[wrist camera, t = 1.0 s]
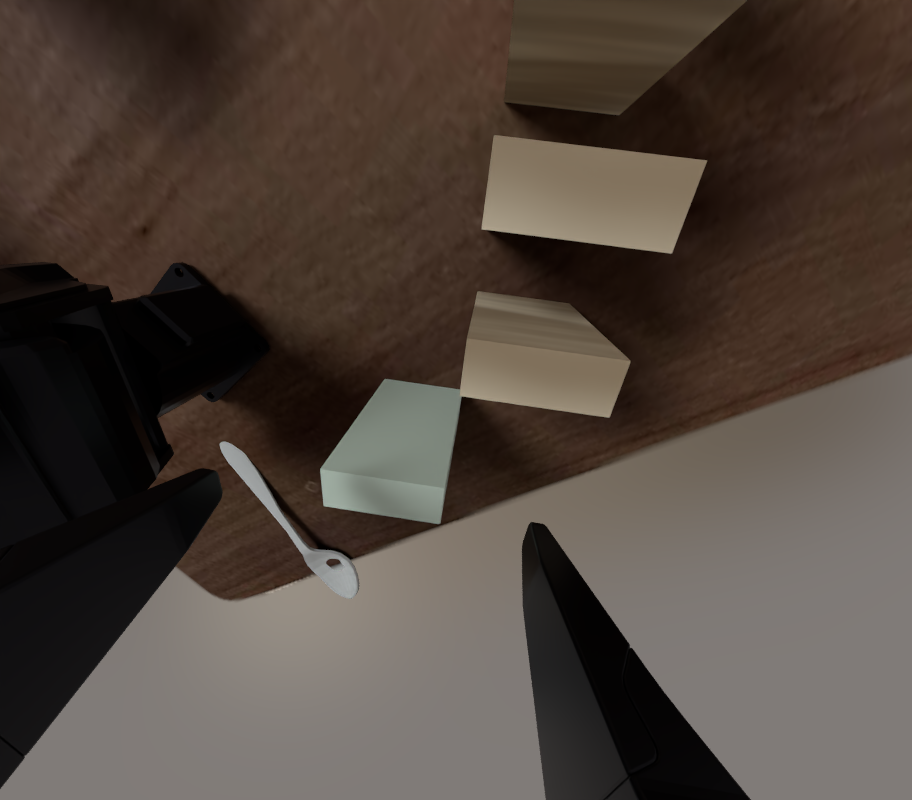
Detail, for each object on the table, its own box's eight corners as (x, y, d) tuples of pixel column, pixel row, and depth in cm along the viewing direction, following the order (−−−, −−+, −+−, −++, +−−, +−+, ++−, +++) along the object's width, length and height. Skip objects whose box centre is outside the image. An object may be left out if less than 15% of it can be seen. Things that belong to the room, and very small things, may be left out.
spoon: (340, 587, 32) (333, 604, 31) (180, 420, 25) (161, 432, 23) (375, 578, 31) (370, 595, 30) (218, 399, 24) (200, 411, 22)
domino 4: (559, 338, 19) (609, 417, 11) (472, 326, 19) (459, 396, 11) (568, 303, 18) (630, 360, 10) (477, 291, 18) (467, 338, 10)
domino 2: (619, 115, 14) (780, -30, 6) (503, 102, 14) (520, -56, 6) (636, 52, 13) (848, -210, 5) (512, 38, 14) (544, -237, 6)
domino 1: (458, 417, 22) (440, 524, 14) (384, 406, 22) (323, 506, 14) (462, 390, 21) (444, 488, 13) (384, 378, 21) (319, 469, 13)
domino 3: (585, 242, 17) (672, 253, 9) (486, 229, 17) (481, 229, 9) (597, 196, 16) (707, 160, 8) (492, 182, 16) (493, 135, 8)
